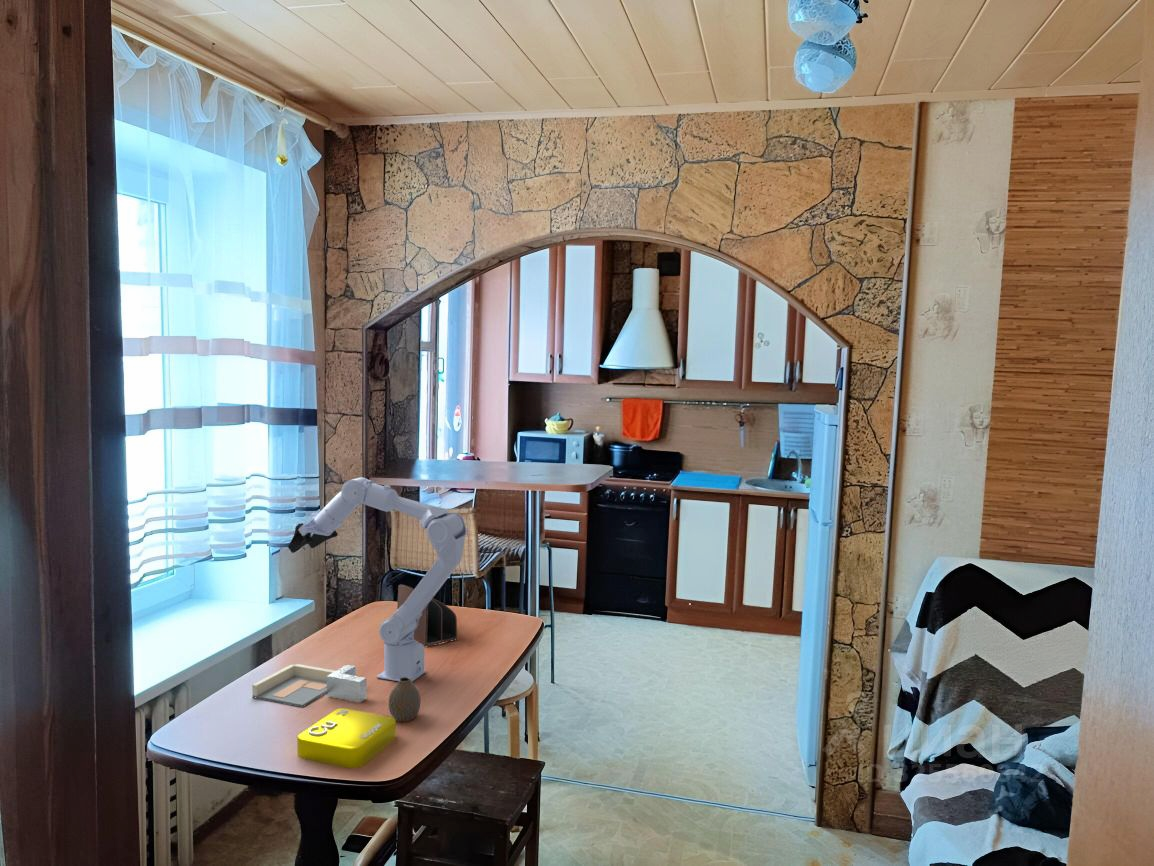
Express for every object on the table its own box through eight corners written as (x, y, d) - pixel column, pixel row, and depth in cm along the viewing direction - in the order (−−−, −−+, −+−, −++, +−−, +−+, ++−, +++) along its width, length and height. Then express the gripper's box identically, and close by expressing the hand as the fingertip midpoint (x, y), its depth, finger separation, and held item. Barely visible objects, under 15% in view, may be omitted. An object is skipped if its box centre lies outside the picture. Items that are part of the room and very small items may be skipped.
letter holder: (425, 648, 213) (425, 598, 212) (396, 627, 229) (396, 581, 228) (457, 641, 219) (457, 592, 218) (427, 621, 235) (427, 576, 234)
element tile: (357, 772, 148) (357, 748, 148) (292, 758, 153) (292, 734, 152) (399, 737, 162) (399, 715, 162) (339, 725, 167) (338, 704, 167)
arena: (340, 683, 188) (340, 671, 187) (302, 707, 174) (302, 694, 174) (293, 675, 192) (293, 663, 192) (252, 697, 179) (252, 684, 179)
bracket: (378, 690, 184) (378, 669, 184) (359, 702, 177) (359, 681, 177) (346, 684, 187) (346, 664, 187) (327, 696, 180) (326, 676, 180)
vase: (393, 727, 166) (392, 687, 165) (385, 714, 172) (385, 676, 171) (424, 721, 169) (424, 682, 168) (415, 708, 175) (415, 671, 174)
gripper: (342, 498, 202) (309, 531, 205) (307, 503, 189) (272, 539, 192) (358, 519, 201) (325, 552, 204) (323, 526, 187) (288, 561, 190)
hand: (300, 547), depth 198 cm, fingers open, 7 cm apart
